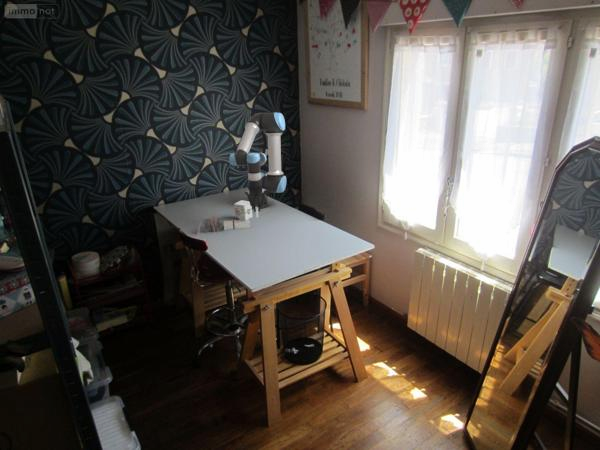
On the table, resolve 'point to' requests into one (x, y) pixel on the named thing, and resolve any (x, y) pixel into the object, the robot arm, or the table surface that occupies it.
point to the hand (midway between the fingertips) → (257, 216)
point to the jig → (208, 224)
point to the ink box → (243, 210)
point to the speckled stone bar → (236, 224)
